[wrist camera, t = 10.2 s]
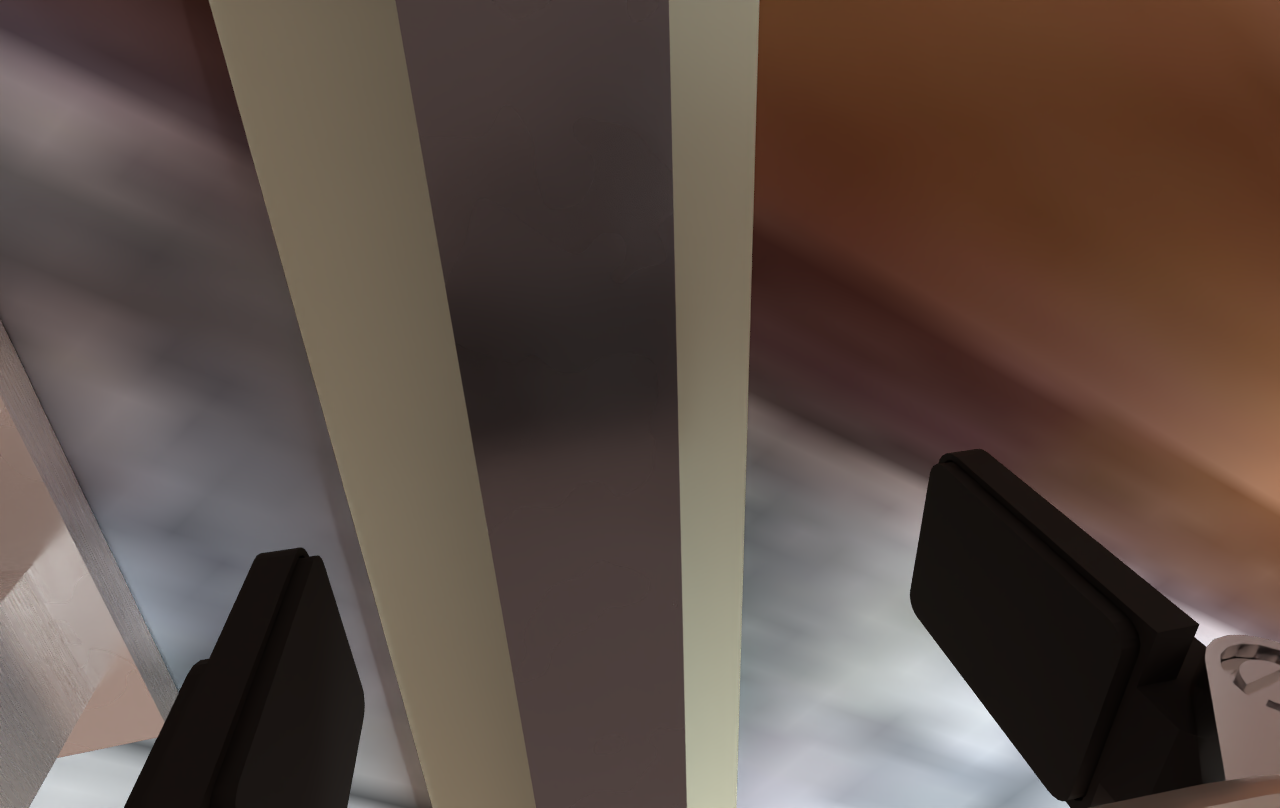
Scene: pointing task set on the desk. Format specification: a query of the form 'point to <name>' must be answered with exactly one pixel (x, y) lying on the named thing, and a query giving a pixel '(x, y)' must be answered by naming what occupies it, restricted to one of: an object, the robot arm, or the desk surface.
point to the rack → (61, 611)
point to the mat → (430, 376)
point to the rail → (567, 365)
